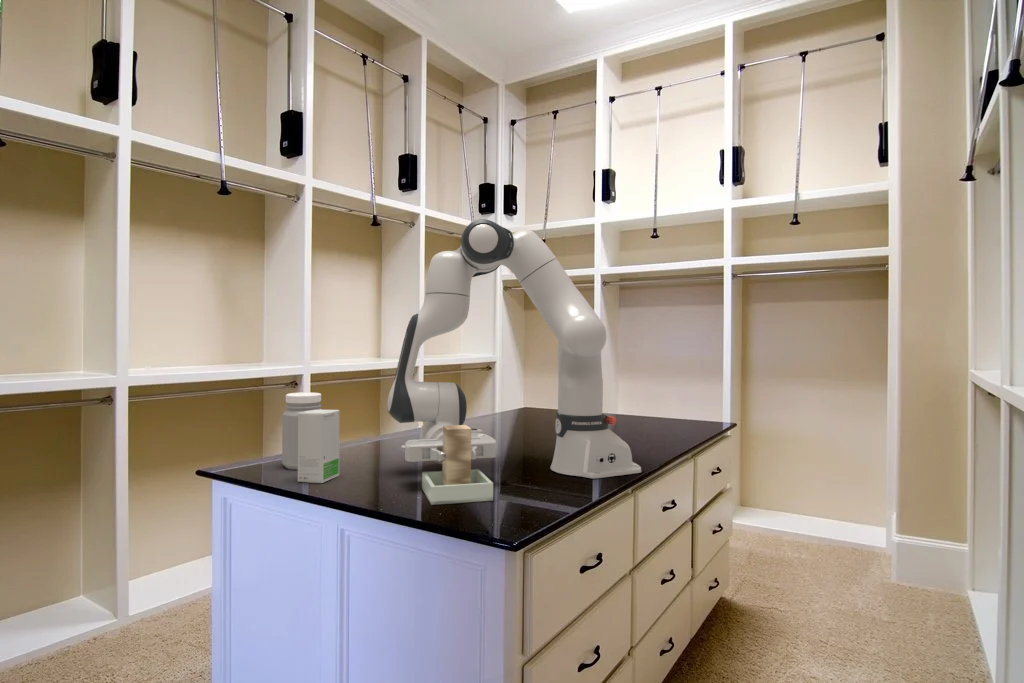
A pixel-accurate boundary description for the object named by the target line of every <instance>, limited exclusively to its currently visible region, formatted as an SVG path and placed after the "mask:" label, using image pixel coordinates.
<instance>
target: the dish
mask: <svg viewBox="0 0 1024 683" xmlns="http://www.w3.org/2000/svg"><path fill="white" fill-rule="evenodd" d="M442 471H443V470H437V471H435V470H434V471H422V472H421V473H422V474H421V489H422V491H423V493H424V494H425V496H426V498H427V500H428V502H429V504H430V505H432V506H434V505H446V504H447V505H449V504H450V505H451V504H462V503H463V504H464V503H475V502H477V503H478V502H491V501H494V482H493V481H492V480H490V478H488V477H487V475H485V473H484V472H482V470H480V469H479V468H474V469H473V468H471V484H456V485H444V484H443V482H442Z"/></svg>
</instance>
